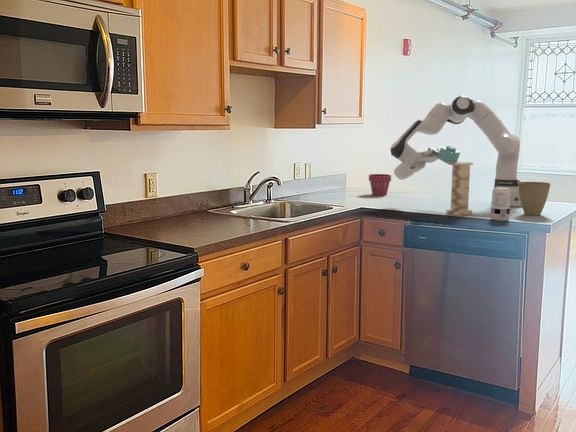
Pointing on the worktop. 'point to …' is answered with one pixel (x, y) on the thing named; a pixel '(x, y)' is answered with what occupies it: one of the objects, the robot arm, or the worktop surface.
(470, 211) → the birch stand
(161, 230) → the worktop surface
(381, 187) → the plant pot
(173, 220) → the worktop surface
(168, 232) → the worktop surface
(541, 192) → the plant pot
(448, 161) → the teal cap handle
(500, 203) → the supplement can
